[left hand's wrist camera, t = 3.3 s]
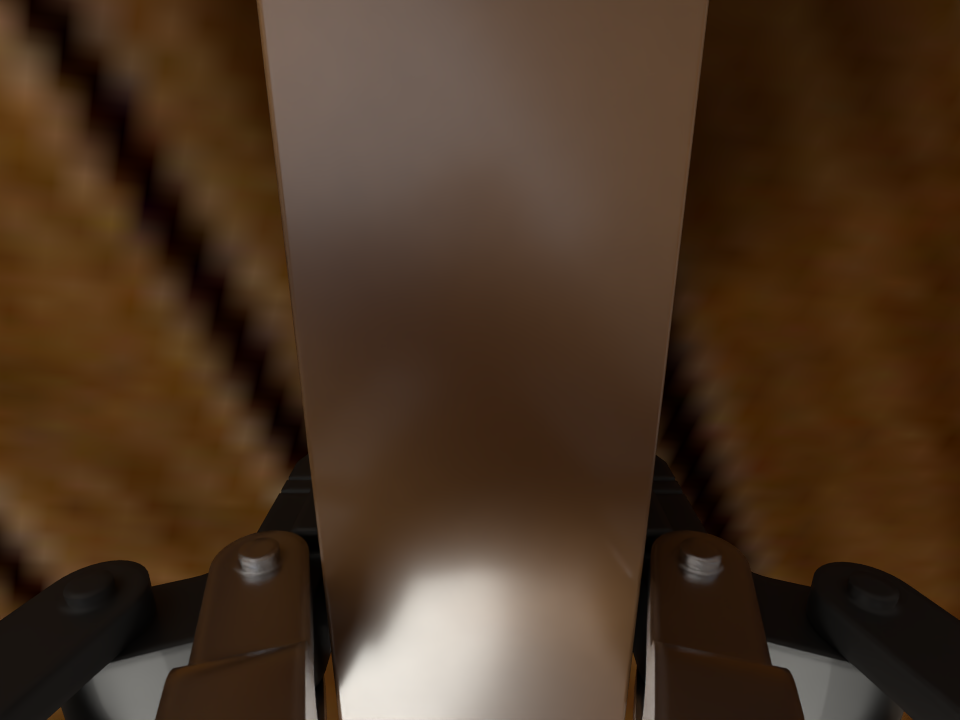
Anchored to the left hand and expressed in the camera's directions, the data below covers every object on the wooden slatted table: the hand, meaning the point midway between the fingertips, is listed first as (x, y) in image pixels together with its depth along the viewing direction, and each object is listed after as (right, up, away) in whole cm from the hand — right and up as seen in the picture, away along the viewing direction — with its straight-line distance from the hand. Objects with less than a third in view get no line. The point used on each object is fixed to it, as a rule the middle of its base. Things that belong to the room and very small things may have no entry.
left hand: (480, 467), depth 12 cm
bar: (0, +20, -5) cm, 21 cm away
